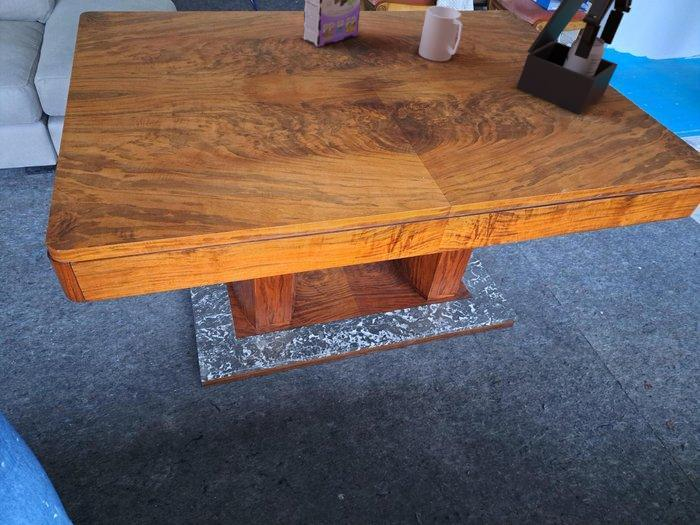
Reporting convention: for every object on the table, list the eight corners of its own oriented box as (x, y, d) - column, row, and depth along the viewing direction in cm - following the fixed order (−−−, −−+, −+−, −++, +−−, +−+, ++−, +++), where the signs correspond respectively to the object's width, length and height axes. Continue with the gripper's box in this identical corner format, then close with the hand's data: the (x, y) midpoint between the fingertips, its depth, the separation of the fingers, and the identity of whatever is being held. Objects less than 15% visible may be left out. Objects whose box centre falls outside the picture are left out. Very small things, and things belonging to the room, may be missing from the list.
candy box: (342, 28, 134) (348, -42, 122) (358, 36, 131) (365, -35, 119) (302, 39, 126) (304, -35, 114) (317, 47, 123) (321, -28, 112)
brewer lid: (606, -28, 107) (574, -53, 109) (579, -18, 99) (546, -44, 101) (556, 39, 120) (529, 17, 122) (529, 53, 112) (500, 29, 114)
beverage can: (560, 82, 120) (582, 30, 112) (588, 93, 118) (612, 40, 109) (549, 91, 116) (570, 38, 108) (577, 102, 114) (601, 48, 105)
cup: (440, 69, 121) (449, 26, 114) (412, 49, 128) (419, 7, 121) (466, 65, 124) (478, 22, 117) (438, 45, 131) (447, 4, 124)
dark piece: (602, 96, 119) (618, 64, 114) (578, 114, 111) (594, 80, 106) (542, 72, 126) (554, 40, 120) (516, 88, 118) (527, 54, 112)
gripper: (638, -54, 86) (587, 69, 101) (679, -68, 101) (629, 42, 115) (596, -64, 90) (552, 57, 104) (642, -76, 104) (598, 32, 119)
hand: (593, 49), depth 110 cm, fingers open, 13 cm apart
